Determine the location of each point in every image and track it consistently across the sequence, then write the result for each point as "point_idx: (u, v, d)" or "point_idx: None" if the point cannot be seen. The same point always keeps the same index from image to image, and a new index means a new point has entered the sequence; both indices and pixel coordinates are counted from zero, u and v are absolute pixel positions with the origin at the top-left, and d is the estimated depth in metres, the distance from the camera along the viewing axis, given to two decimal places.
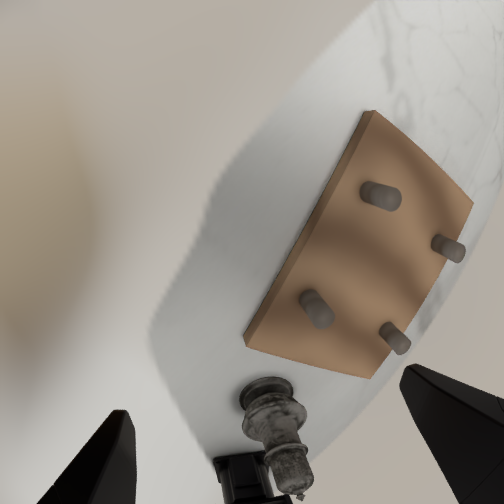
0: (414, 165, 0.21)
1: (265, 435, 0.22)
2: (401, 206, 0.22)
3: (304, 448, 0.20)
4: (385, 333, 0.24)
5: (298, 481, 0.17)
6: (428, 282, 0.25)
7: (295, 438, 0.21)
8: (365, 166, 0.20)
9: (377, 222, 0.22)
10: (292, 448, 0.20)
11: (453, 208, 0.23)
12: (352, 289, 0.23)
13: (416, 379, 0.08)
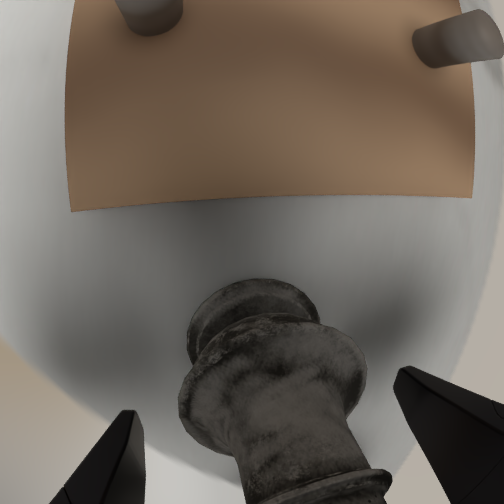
0: None
1: (237, 459, 0.06)
2: None
3: (369, 482, 0.04)
4: (430, 38, 0.07)
5: None
6: None
7: (326, 454, 0.05)
8: None
9: None
10: None
11: None
12: None
13: (410, 381, 0.08)
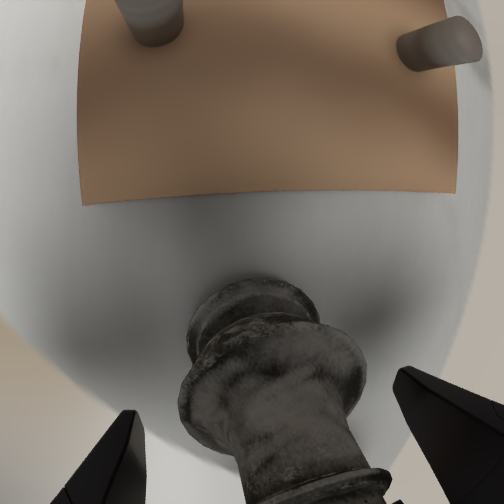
0: None
1: (237, 460, 0.06)
2: None
3: (365, 482, 0.04)
4: (412, 44, 0.08)
5: None
6: None
7: (321, 454, 0.05)
8: None
9: None
10: None
11: None
12: None
13: (409, 381, 0.08)
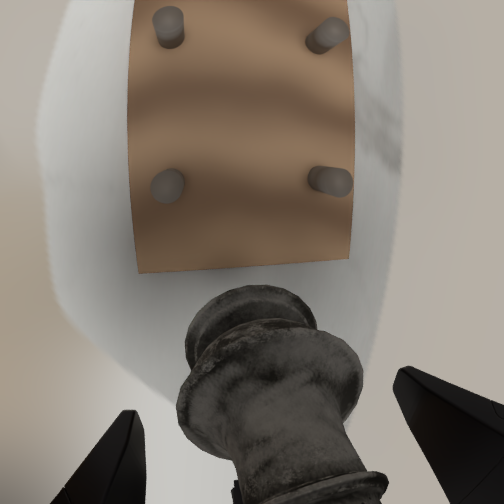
0: None
1: (235, 464, 0.06)
2: (227, 28, 0.15)
3: (362, 485, 0.04)
4: (313, 180, 0.18)
5: None
6: (342, 94, 0.17)
7: (319, 458, 0.05)
8: None
9: (203, 58, 0.15)
10: None
11: (313, 1, 0.15)
12: (222, 144, 0.17)
13: (409, 381, 0.08)
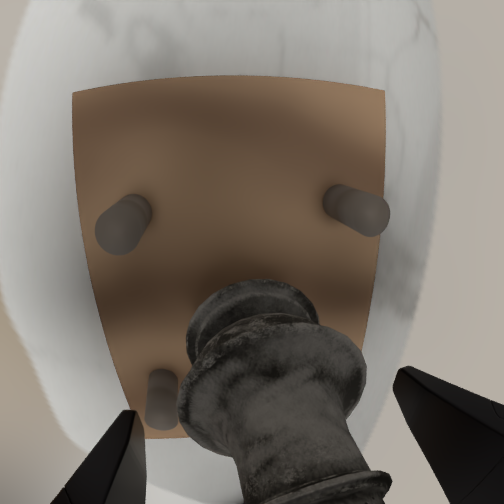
0: (193, 112, 0.11)
1: (235, 462, 0.06)
2: (211, 193, 0.12)
3: (366, 484, 0.04)
4: None
5: None
6: (362, 267, 0.15)
7: (322, 456, 0.05)
8: (103, 181, 0.11)
9: (182, 244, 0.13)
10: None
11: (339, 125, 0.12)
12: None
13: (409, 381, 0.08)
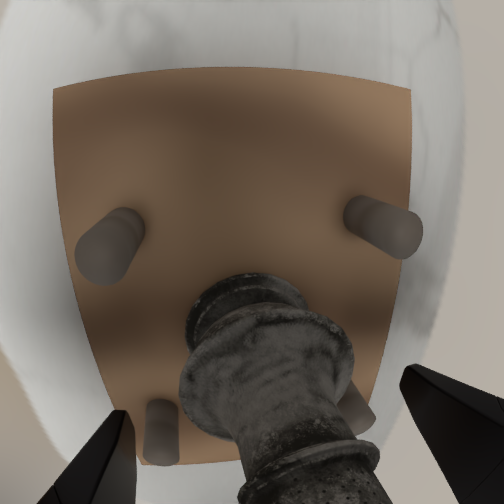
0: (193, 110, 0.09)
1: (285, 395, 0.07)
2: (215, 206, 0.11)
3: None
4: None
5: None
6: (383, 287, 0.13)
7: None
8: (88, 193, 0.10)
9: (181, 266, 0.11)
10: (370, 465, 0.05)
11: (362, 127, 0.11)
12: None
13: (416, 379, 0.08)
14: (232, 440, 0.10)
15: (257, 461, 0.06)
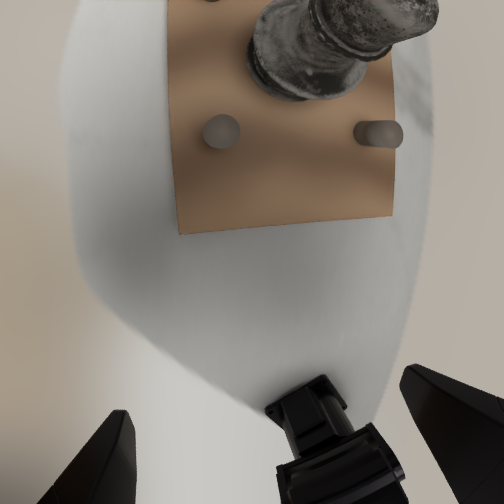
0: None
1: None
2: None
3: None
4: (361, 134, 0.16)
5: None
6: None
7: None
8: None
9: (247, 12, 0.13)
10: None
11: None
12: (270, 96, 0.16)
13: (416, 379, 0.08)
14: (289, 86, 0.12)
15: None
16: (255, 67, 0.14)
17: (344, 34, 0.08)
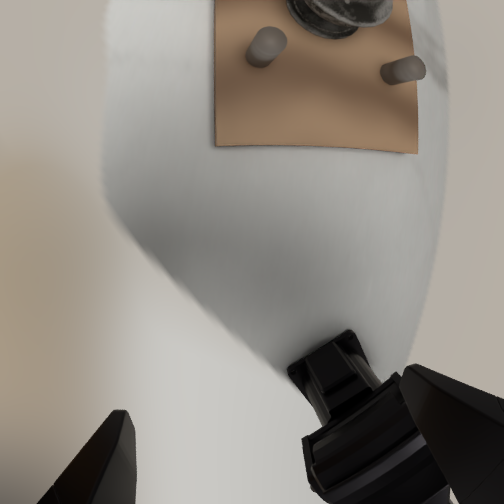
0: None
1: None
2: None
3: None
4: (388, 70, 0.16)
5: None
6: (400, 13, 0.15)
7: None
8: None
9: None
10: None
11: None
12: (307, 31, 0.15)
13: (416, 379, 0.08)
14: (330, 11, 0.12)
15: None
16: (295, 6, 0.14)
17: None
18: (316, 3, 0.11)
